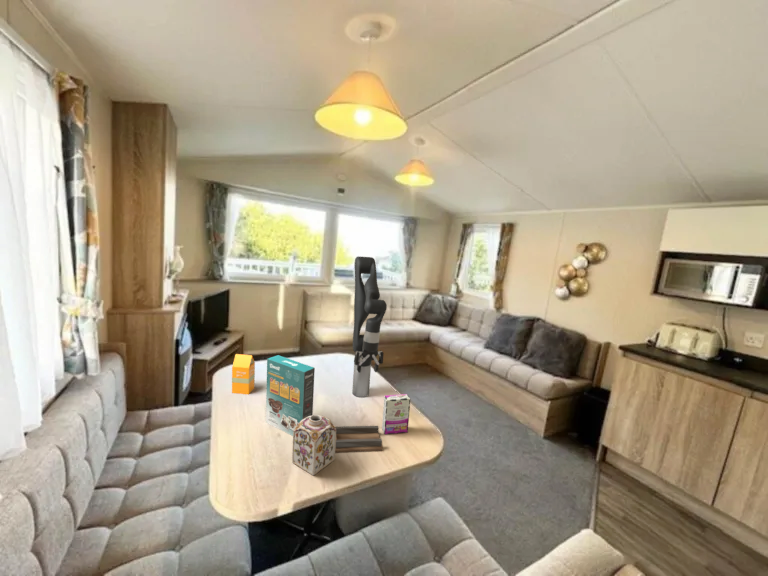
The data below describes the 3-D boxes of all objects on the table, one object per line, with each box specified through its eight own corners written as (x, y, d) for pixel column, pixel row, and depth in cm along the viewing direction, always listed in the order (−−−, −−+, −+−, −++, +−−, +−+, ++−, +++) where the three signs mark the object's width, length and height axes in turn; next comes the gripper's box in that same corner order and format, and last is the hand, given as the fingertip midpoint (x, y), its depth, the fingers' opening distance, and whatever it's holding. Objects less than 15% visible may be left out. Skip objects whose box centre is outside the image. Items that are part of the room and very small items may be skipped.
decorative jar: (291, 462, 127) (292, 418, 124) (313, 447, 136) (315, 406, 133) (313, 477, 120) (316, 430, 117) (335, 460, 130) (338, 417, 127)
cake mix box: (311, 433, 146) (314, 367, 141) (301, 440, 140) (304, 372, 136) (276, 416, 156) (278, 355, 152) (265, 422, 151) (267, 358, 147)
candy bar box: (404, 426, 157) (407, 393, 154) (407, 432, 152) (411, 398, 149) (381, 428, 154) (383, 394, 151) (384, 434, 149) (386, 400, 146)
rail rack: (331, 432, 148) (332, 424, 147) (377, 430, 151) (377, 423, 151) (332, 452, 134) (332, 444, 134) (381, 450, 138) (382, 442, 137)
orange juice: (248, 394, 175) (249, 357, 172) (231, 393, 175) (231, 356, 172) (254, 387, 183) (255, 352, 180) (238, 386, 183) (238, 351, 180)
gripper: (382, 337, 169) (378, 368, 171) (355, 337, 164) (351, 369, 166) (387, 342, 162) (383, 374, 165) (359, 342, 157) (355, 375, 159)
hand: (367, 371), depth 165 cm, fingers open, 8 cm apart
